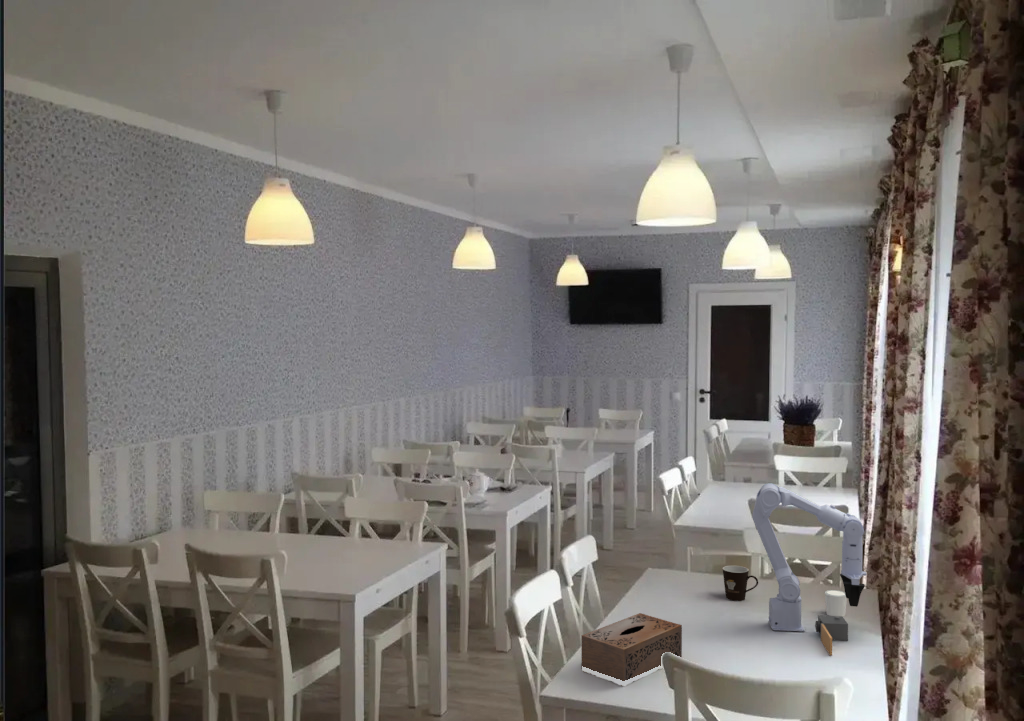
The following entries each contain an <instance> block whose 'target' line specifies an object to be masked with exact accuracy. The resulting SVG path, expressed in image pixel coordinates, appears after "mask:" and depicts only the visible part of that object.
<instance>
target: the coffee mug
mask: <svg viewBox="0 0 1024 721" xmlns="http://www.w3.org/2000/svg"><path fill="white" fill-rule="evenodd" d="M749 571H750V569H749V568H747V567H745V566H741V565H725V566H723V567H722V575H723V583H724V592H725V599H726V600H728V601H731V602H732V601H733V602H742V601H745V600H746V595H747V593H748V592H749V591H752V590H754V589H755V588H756V587H757V586H758V585H759V579H758V578H757V577H756V575H755V576H754V575H749ZM750 578H753V579H754V580H755V581H756V584H755V585H753V587H751V588H748V589H747V587H748V586H747V585H748V580H749V579H750Z"/></svg>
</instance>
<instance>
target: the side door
mask: <svg viewBox="0 0 1024 721" xmlns="http://www.w3.org/2000/svg"><path fill="white" fill-rule="evenodd" d="M820 641H821V643H822V645H823V646H824V648H825V650H826V651H827V653H828V655H829V656H833V640H832V637H831V635H830V634H829V632H828V631H827V629H826V627H825V626H824V624H823V623H821V636H820Z"/></svg>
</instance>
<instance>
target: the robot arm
mask: <svg viewBox="0 0 1024 721" xmlns="http://www.w3.org/2000/svg"><path fill="white" fill-rule="evenodd" d="M780 504H781V507H788V506H793V507H795V508H797V509H799V510H802V511H804V512H807V513H809V514H811V515H814V516H815V517H816V518H817V521H818V523H821V524H822V525H825V526H827V527H829V528H831V529H834V530H836V531H837V532H842V542H841V553H842V554H841V570H840V573H839V576H840V578H841V580H842V584H843V589H844V592H845V595H846V598H847V600H848V603H849V607H856V608H857V607H858V605H859V603H860V599H861V595H862V592H863V590H864V589H865V584H864V583H860V579H861V578H862V577H863V576H865V577H866V576H867V572H866V571H863V550H864V548H863V535H864V533H865V529H864V525H863V523H862V521H861V519H860V518H858V517H857V516H855V515H853V514H851V513H849V512H844V511H841V510H840V509H837V508H836V505H834V504H830V505H829V504H824V505H819V504H817V503H815V502H813V501H812V500H809V499H807V498H805V497H803V496H802V495H800V494H797V493H796V492H794V491H792V490H790V489H787V488H785V487H784V486H778V485H777V484H775V483H771V482H769V483H765V484H763V485H762V486H761V487H760V489H759V490H758V492H757V493H756V497H755V502H754V507H753V510H752V515H751V516H752V517H751V518H752V520H753V524H754V525H755V528H756V530H757V533H758V535H759V537H760V540H761V543H762V546H763V547H764V550H765V552H766V554H767V557H768V560H769V562H770V564H771V567H772V569H773V572H774V574H775V578H776V581H777V584H778V593H777V594H776V597H770V598H769V601H768V623H769V626H770V628H771V630H772V631H779V632H782V631H783V632H805V628H804V626H803V625H802V596H801V588H800V586H801V584H800V580H799V578H798V577H797V575H795V574H794V573H793V571H792V568H791V566H790V565H789V563H788V562H787V559H786V555H785V553H784V551H783V549H782V546H781V545H780V544H781V543H780V542H779V539H778V537H777V534H776V532H775V529H774V528H773V524H772V523H771V520H770V517H771V515H772V513H773V511H774V510H776V509H777V508H778V507H779V505H780Z"/></svg>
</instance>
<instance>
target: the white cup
mask: <svg viewBox="0 0 1024 721" xmlns="http://www.w3.org/2000/svg"><path fill="white" fill-rule="evenodd" d="M824 598H825V601H824V602H825V610H826V612H825V613H826V616H842V617H843V618H844V617H845V616H846V611H847V601H848V598H846V595H845V591H842V590H838V589H829V590H828V589H827V590H825V591H824Z"/></svg>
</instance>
